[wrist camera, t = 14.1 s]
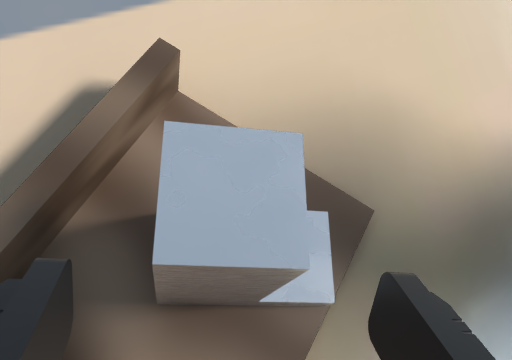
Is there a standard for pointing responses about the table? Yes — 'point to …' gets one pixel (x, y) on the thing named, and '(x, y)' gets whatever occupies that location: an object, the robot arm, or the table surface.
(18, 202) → the walnut corner tray
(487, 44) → the table surface
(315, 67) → the table surface
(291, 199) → the aluminium bracket
